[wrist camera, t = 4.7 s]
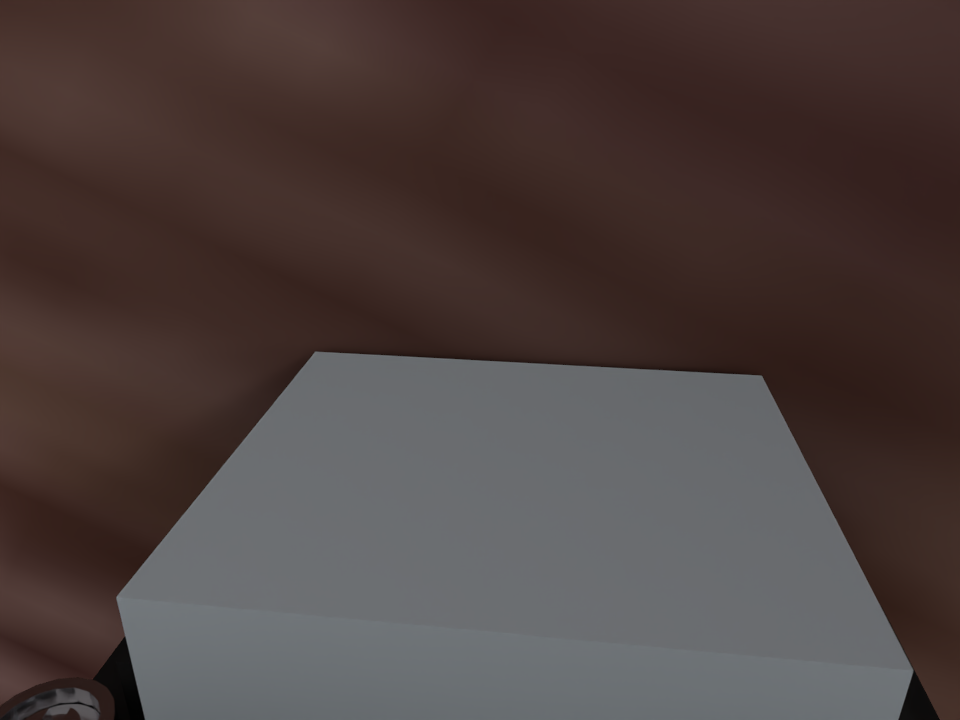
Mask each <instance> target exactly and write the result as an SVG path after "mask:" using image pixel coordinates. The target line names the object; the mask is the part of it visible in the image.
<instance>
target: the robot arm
mask: <svg viewBox="0 0 960 720" xmlns="http://www.w3.org/2000/svg"><path fill="white" fill-rule="evenodd" d="M879 605H880V604H879ZM880 607H881V606H880ZM881 608H882V607H881ZM882 610H883V609H882ZM883 612H884V611H883ZM884 614H885V613H884ZM885 616H886V614H885ZM886 618H887V616H886ZM887 620H888V618H887ZM888 622H889V620H888ZM889 624H890V622H889ZM890 626H891V624H890ZM891 628H892V626H891ZM892 630H893V628H892ZM893 632H894V630H893ZM894 634H895V632H894ZM895 636H896V634H895ZM896 638H897V636H896ZM897 640H898V638H897ZM898 642H899V640H898ZM899 643H900V642H899ZM900 645H901V644H900ZM901 647H902V646H901ZM902 649H903V647H902ZM903 651H904V649H903ZM904 653H905V651H904ZM905 655H906V653H905ZM906 657H907V655H906ZM907 659H908V657H907ZM908 661H909V659H908ZM909 663H910V661H909ZM910 665H911V663H910ZM911 667H912V665H911ZM912 669H913V667H912ZM0 720H145V717H144V713H143V709H142V704H141V700H140V696H139V692H138V687H137V683H136V679H135V675H134V671H133V666H132V662H131V658H130V654H129V649H128V645H127V641H126V637H124V638H123V640H122V641H121V643H120V644H119V645H118V647H117V648H116V649H115V651H114V652H113V653H112V655H111V656H110V657H109V659H108V660H107V661H106V663H105V664H104V665H103V667H102V668H101V669H100V671H99V672H98V673H97V675H96V676H95V677H94V679H93V680H90V679H85V678H79V677H76V678H64V679H56V680H53V681H49V682H46V683H42V684H39V685H36V686H34V687H32V688H30V689H28V690H26V691H24V692H21V693H19V694H17V695H15V696H14V697H12V698H11V699H10V700H8V701H7V702H5V703H4V704H3V705H1V706H0ZM898 720H940V719H939V717H938V715H937V713H936V711H935V710H934V708H933V706H932V704H931V702H930V700H929V698H928V696H927V694H926V692H925V690H924V688H923V686H922V684H921V682H920V680H919V678H918V677H917V675H916V673H915V671H914V669H913V674H912V677H911V681H910V684H909V687H908V690H907V694H906V697H905V700H904V703H903V706H902V710H901V713H900V716H899V719H898Z"/></svg>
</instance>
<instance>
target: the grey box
mask: <svg viewBox="0 0 960 720" xmlns="http://www.w3.org/2000/svg"><path fill="white" fill-rule="evenodd" d="M116 599H117V603H118V607H119V611H120V615H121V620H122V624H123V628H124V632H125V637H126V641H127V645H128V649H129V654H130V658H131V662H132V666H133V671H134V675H135V679H136V683H137V687H138V692H139V696H140V700H141V704H142V709H143V713H144V717H145V720H898V719H899V716H900V713H901V710H902V706H903V703H904V700H905V697H906V694H907V690H908V687H909V684H910V681H911V677H912V674H913V669H912V667H911V665H910V663H909V661H908V659H907V657H906V655H905V653H904V651H903V649H902V647H901V645H900V643H899V642H898V640H897V638H896V636H895V634H894V632H893V630H892V628H891V626H890V624H889V622H888V620H887V618H886V616H885V614H884V612H883V610H882V608H881V607H880V605H879V603H878V601H877V599H876V597H875V595H874V593H873V591H872V589H871V587H870V585H869V583H868V581H867V579H866V577H865V575H864V573H863V572H862V570H861V568H860V566H859V564H858V562H857V560H856V558H855V556H854V554H853V552H852V550H851V548H850V546H849V544H848V542H847V540H846V538H845V537H844V535H843V533H842V531H841V529H840V527H839V525H838V523H837V521H836V519H835V517H834V515H833V513H832V511H831V509H830V507H829V505H828V503H827V502H826V500H825V498H824V496H823V494H822V492H821V490H820V488H819V486H818V484H817V482H816V480H815V478H814V476H813V474H812V472H811V470H810V468H809V467H808V465H807V463H806V461H805V459H804V457H803V455H802V453H801V451H800V449H799V447H798V445H797V443H796V441H795V439H794V437H793V435H792V433H791V432H790V430H789V428H788V426H787V424H786V422H785V420H784V418H783V416H782V414H781V412H780V410H779V408H778V406H777V404H776V402H775V400H774V398H773V397H772V395H771V393H770V391H769V389H768V387H767V385H766V383H765V381H764V379H763V377H762V376H759V375H740V374H721V373H703V372H684V371H666V370H647V369H629V368H610V367H591V366H573V365H554V364H536V363H517V362H499V361H480V360H461V359H443V358H424V357H406V356H387V355H368V354H350V353H331V352H315V353H314V354H313V355H312V357H311V358H310V359H309V360H308V361H307V363H306V364H305V365H304V366H303V368H302V369H301V370H300V371H299V373H298V374H297V375H296V376H295V377H294V379H293V380H292V381H291V382H290V384H289V385H288V386H287V387H286V389H285V390H284V391H283V392H282V393H281V395H280V396H279V397H278V398H277V400H276V401H275V402H274V403H273V405H272V406H271V407H270V408H269V410H268V411H267V412H266V413H265V414H264V416H263V417H262V418H261V419H260V421H259V422H258V423H257V424H256V426H255V427H254V428H253V429H252V430H251V432H250V433H249V434H248V435H247V437H246V438H245V439H244V440H243V442H242V443H241V444H240V445H239V446H238V448H237V449H236V450H235V451H234V453H233V454H232V455H231V456H230V458H229V459H228V460H227V461H226V463H225V464H224V465H223V466H222V467H221V469H220V470H219V471H218V472H217V474H216V475H215V476H214V477H213V479H212V480H211V481H210V482H209V483H208V485H207V486H206V487H205V488H204V490H203V491H202V492H201V493H200V495H199V496H198V497H197V498H196V499H195V501H194V502H193V503H192V504H191V506H190V507H189V508H188V509H187V511H186V512H185V513H184V514H183V516H182V517H181V518H180V519H179V520H178V522H177V523H176V524H175V525H174V527H173V528H172V529H171V530H170V532H169V533H168V534H167V535H166V536H165V538H164V539H163V540H162V541H161V543H160V544H159V545H158V546H157V548H156V549H155V550H154V551H153V552H152V554H151V555H150V556H149V557H148V559H147V560H146V561H145V562H144V564H143V565H142V566H141V567H140V569H139V570H138V571H137V572H136V573H135V575H134V576H133V577H132V578H131V580H130V581H129V582H128V583H127V585H126V586H125V587H124V588H123V589H122V591H121V592H120V593H119V594H118V596H117V597H116Z"/></svg>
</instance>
